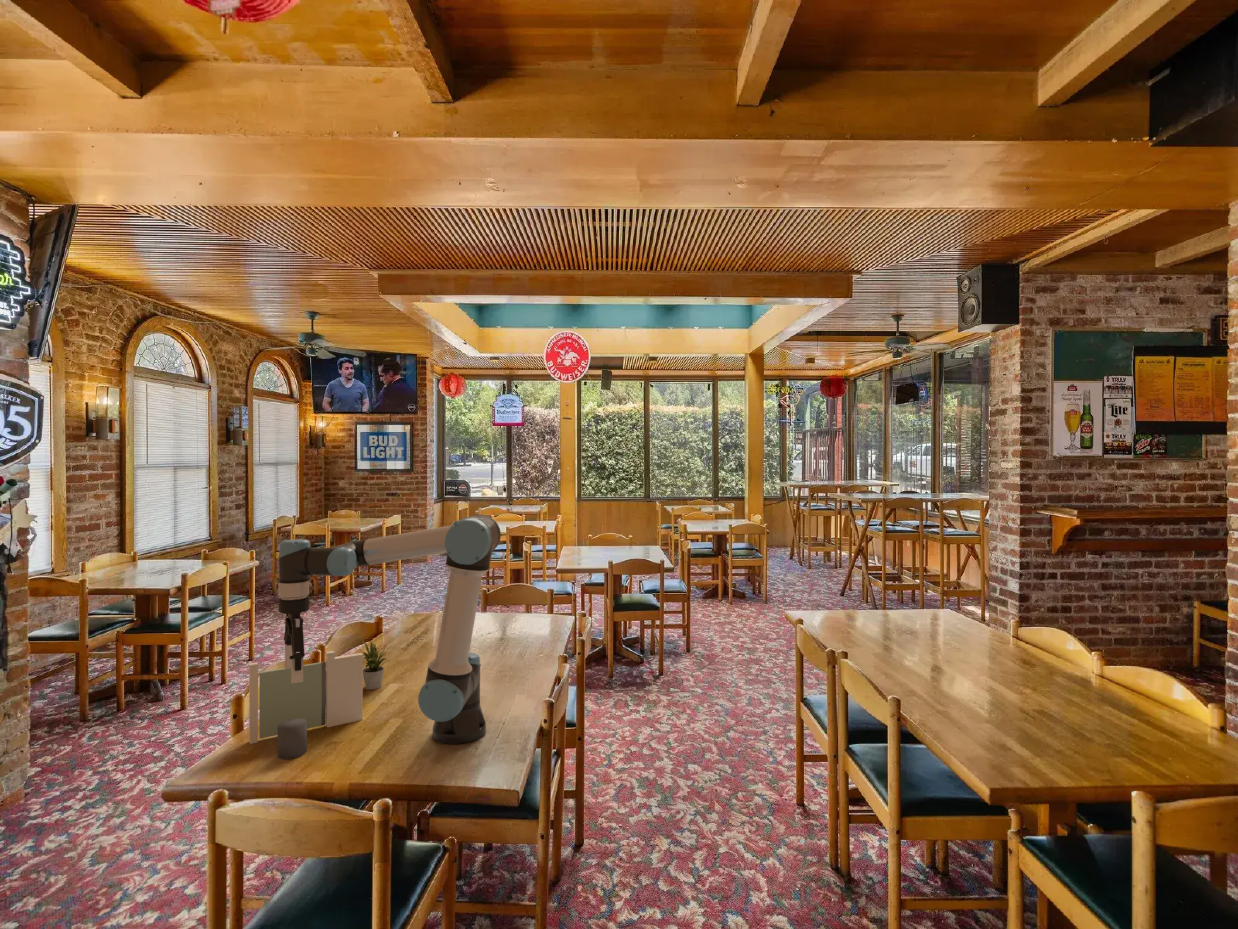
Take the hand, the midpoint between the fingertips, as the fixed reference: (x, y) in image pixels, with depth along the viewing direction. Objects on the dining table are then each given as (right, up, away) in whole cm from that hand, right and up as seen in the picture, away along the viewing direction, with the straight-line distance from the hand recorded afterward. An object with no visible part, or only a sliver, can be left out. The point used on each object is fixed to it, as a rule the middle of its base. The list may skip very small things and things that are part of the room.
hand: (293, 675), depth 174 cm
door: (-6, -20, +12) cm, 24 cm away
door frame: (-3, -21, +14) cm, 25 cm away
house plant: (+1, -21, +51) cm, 55 cm away
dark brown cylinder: (0, -21, -1) cm, 21 cm away
